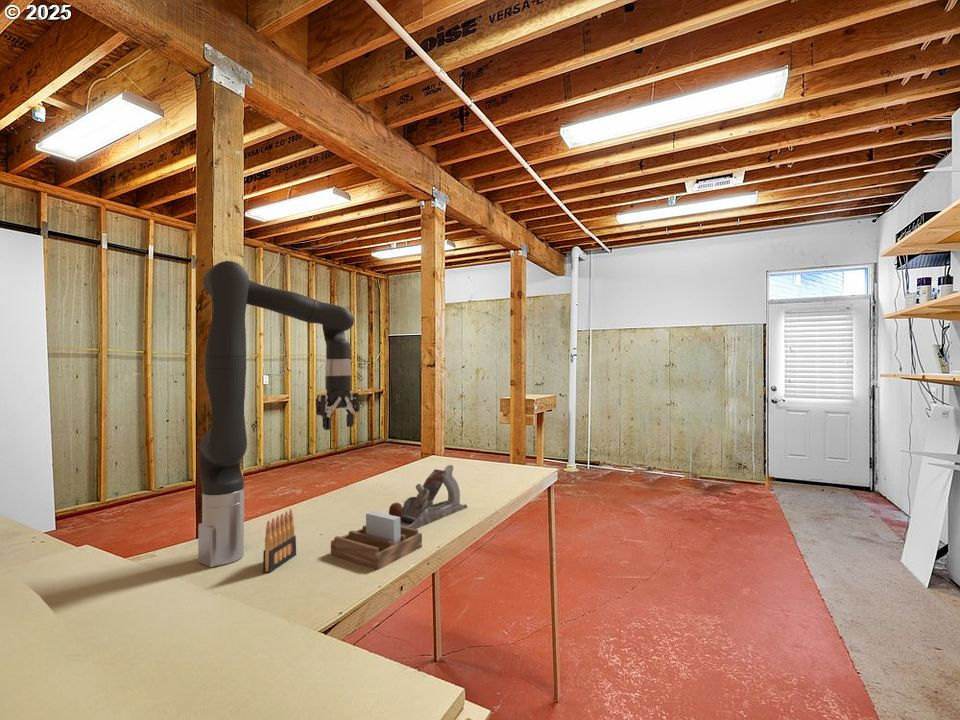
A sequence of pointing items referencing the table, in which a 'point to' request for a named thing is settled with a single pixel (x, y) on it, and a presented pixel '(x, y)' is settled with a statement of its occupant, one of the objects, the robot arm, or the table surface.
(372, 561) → the rack
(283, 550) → the ammunition clip
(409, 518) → the hand plane
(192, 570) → the table surface
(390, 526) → the tile
